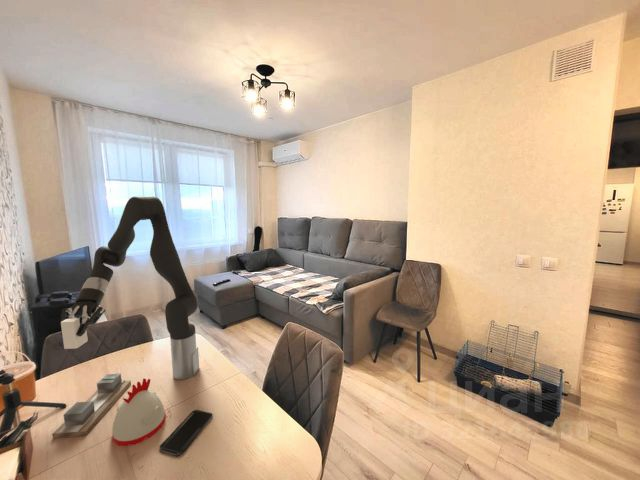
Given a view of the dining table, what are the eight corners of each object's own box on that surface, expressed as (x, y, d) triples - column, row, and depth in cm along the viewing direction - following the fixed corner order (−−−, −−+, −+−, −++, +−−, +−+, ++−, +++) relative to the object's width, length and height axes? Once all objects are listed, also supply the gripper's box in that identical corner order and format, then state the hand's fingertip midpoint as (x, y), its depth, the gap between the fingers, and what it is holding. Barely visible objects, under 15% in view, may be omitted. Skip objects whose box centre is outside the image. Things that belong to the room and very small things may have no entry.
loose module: (87, 340, 96) (84, 315, 95) (76, 348, 91) (73, 321, 90) (75, 341, 96) (72, 315, 94) (64, 349, 91) (60, 322, 89)
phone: (157, 448, 74) (194, 409, 89) (157, 452, 74) (194, 412, 89) (180, 455, 72) (214, 413, 87) (180, 458, 73) (214, 416, 87)
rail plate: (130, 383, 102) (129, 369, 101) (85, 435, 79) (83, 417, 78) (106, 385, 100) (104, 370, 100) (52, 438, 78) (50, 419, 77)
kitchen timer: (175, 416, 87) (172, 375, 85) (133, 452, 74) (129, 405, 72) (145, 404, 91) (142, 365, 89) (101, 437, 79) (96, 392, 77)
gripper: (66, 287, 98) (40, 333, 87) (107, 286, 99) (86, 331, 89) (79, 296, 104) (56, 340, 93) (117, 295, 105) (99, 338, 95)
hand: (71, 335), depth 91 cm, fingers closed on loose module, 4 cm apart
